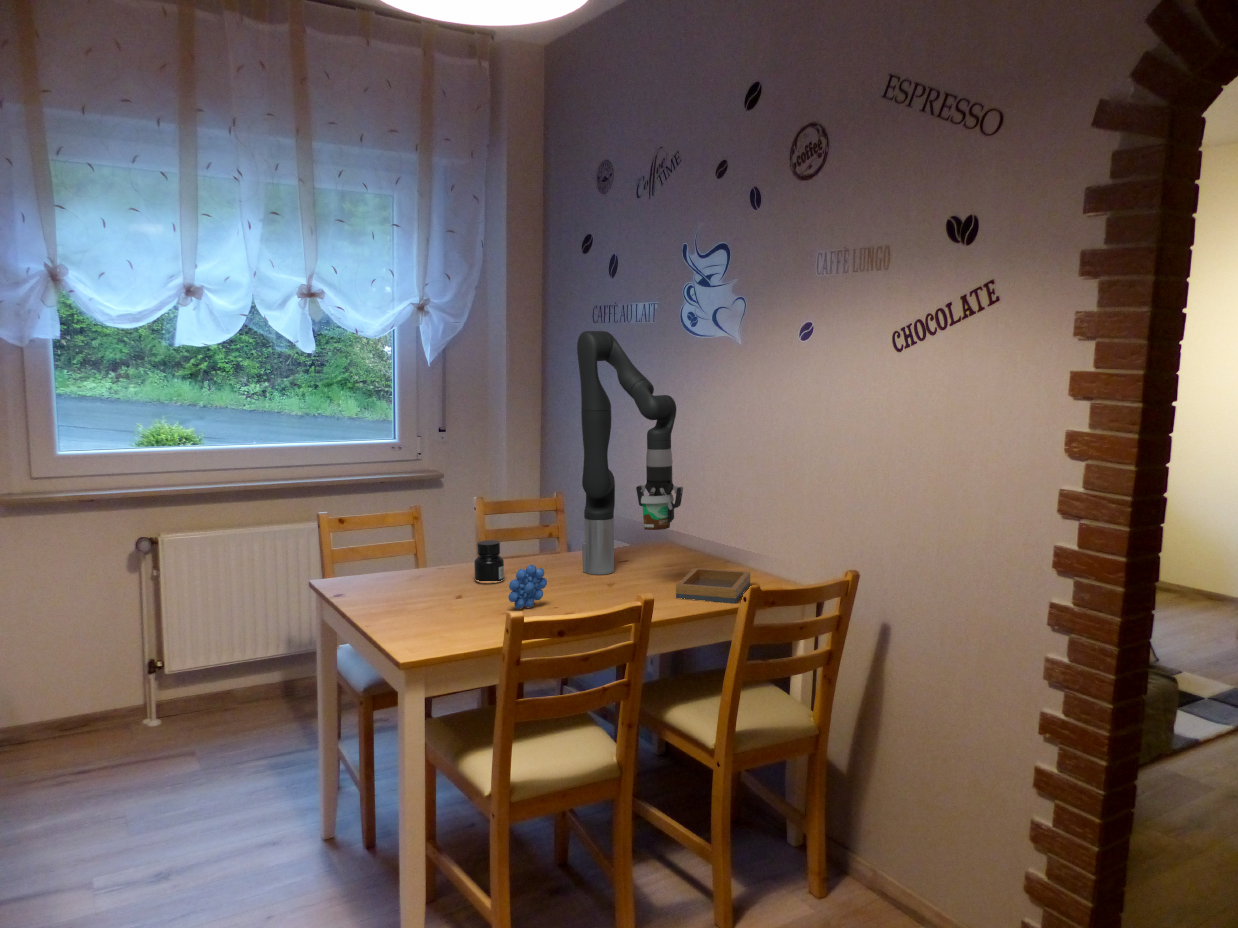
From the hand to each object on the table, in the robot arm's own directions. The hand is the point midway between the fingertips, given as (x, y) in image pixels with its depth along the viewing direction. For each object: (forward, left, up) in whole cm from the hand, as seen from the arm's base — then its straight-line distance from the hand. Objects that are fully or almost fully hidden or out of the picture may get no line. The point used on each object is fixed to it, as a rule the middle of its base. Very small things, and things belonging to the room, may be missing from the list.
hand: (659, 520), depth 267 cm
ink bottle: (-52, -9, -20) cm, 56 cm away
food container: (+1, 0, -2) cm, 2 cm away
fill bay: (+16, -1, -20) cm, 26 cm away
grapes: (-29, -32, -20) cm, 47 cm away
